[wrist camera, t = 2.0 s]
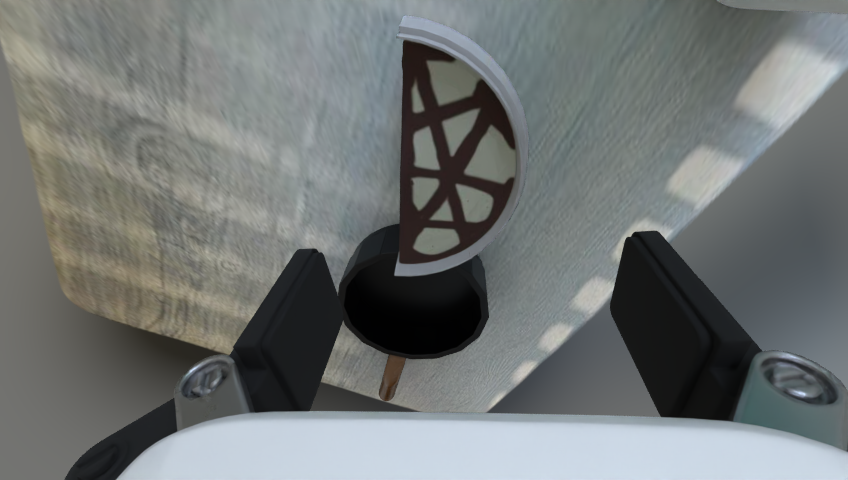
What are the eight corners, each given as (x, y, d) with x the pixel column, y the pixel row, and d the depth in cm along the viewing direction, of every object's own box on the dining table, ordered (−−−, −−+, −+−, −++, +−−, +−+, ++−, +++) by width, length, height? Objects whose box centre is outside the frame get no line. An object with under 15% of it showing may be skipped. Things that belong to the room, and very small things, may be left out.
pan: (358, 207, 28) (344, 235, 25) (505, 242, 29) (511, 273, 26) (337, 359, 40) (326, 392, 37) (442, 381, 41) (440, 415, 38)
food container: (492, 204, 27) (506, 294, 19) (413, 197, 27) (393, 283, 19) (528, 15, 20) (576, 30, 12) (421, 8, 20) (396, 18, 12)
